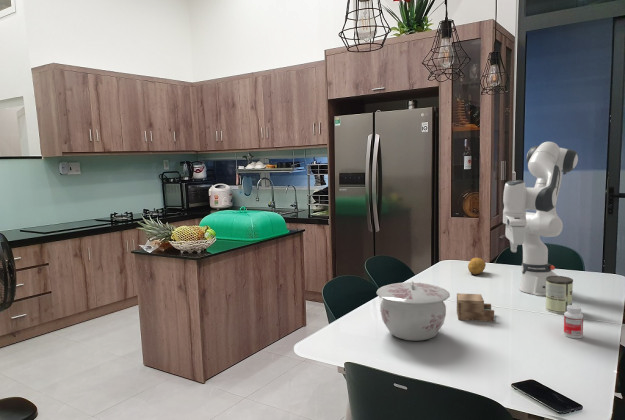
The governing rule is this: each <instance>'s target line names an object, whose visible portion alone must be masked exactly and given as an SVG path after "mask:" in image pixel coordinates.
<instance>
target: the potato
mask: <svg viewBox="0 0 625 420" xmlns="http://www.w3.org/2000/svg"><path fill="white" fill-rule="evenodd" d="M467 268H468V272H470V274H472V275H480V274H481V273H483V272H484V270H485V269H486V261H485V260H484V259H482V258H480V257H474V258H471V259H470V260H469V262H468V264H467Z"/></svg>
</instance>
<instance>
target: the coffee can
mask: <svg viewBox="0 0 625 420" xmlns="http://www.w3.org/2000/svg"><path fill="white" fill-rule="evenodd" d="M573 285H574V279H573V278H571V277H569V276H563V275H558V276H548V277H546V296H545V310H546V311H548V312H550V313H551V314H552V313H553V314H558V315H559V314H560V315H564V313H565V312H566V311H567V306H568V305H573Z"/></svg>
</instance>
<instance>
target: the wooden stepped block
mask: <svg viewBox="0 0 625 420" xmlns="http://www.w3.org/2000/svg"><path fill="white" fill-rule="evenodd" d="M482 295H483V294H481V293H480V294H479V293H459V292H458V293H456V315H457V316H456V317H457V319H458V320H459V321H473V322H474V321H476V322H477V321H478V322H479V321H481V322H495V310H494V309H492V303H485V300H484V298H483V296H482ZM484 309H492V310H484Z"/></svg>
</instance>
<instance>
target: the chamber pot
mask: <svg viewBox="0 0 625 420" xmlns="http://www.w3.org/2000/svg"><path fill="white" fill-rule="evenodd" d="M376 295H377V296H378V297H379V298H380V299H382V300H381V303H380V305H379V306H380V310H379V311H380V314H381V320H382V322H383V324H384V325H385V328H387V330H388V331H389V333H390V334H391V335H392V336H394V337H396V338H398V339H400V340H401V339H402V340H405V341H410V342H413V341H414V342H418V341H419V342H420V341H425V340H430V339H432V338H434V337H435V336H437V334H438V333H439V331H440V330H441V329H442V327H443V325H444V324H445V319H446V315H447V313H446V312H447V311H446V310H447V309H446V308H447V307H446V304H445V302H444V301H446V300H448V299H449V298H450V295H451V294H450V292H449V291H448V290H447V289H445V288H443V287H440V286H438V285H434V284H429V283H423V282H422V283H421V282H414V281H411V282H407V281H406V282H397V283H396V282H395V283H391V284H387V285H383V286H381V287H379V288H378V289H377V291H376Z"/></svg>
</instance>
